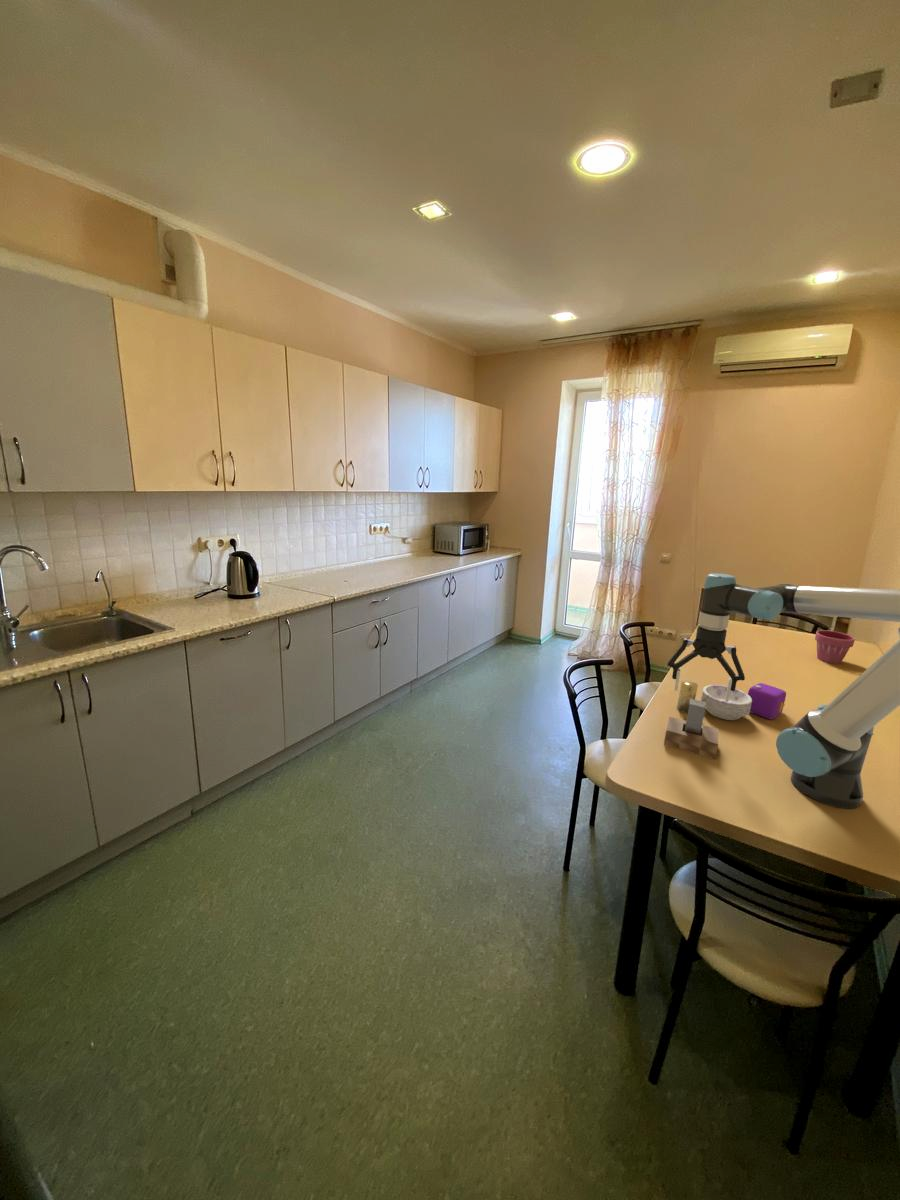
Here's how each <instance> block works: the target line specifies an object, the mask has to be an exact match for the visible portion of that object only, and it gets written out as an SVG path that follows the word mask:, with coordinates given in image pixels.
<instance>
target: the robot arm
mask: <svg viewBox="0 0 900 1200" xmlns="http://www.w3.org/2000/svg"><path fill="white" fill-rule="evenodd" d="M703 585H704V586H703V589H702V590H703V592H702V598H701V604H700V605H701V606H700V610H699V616H698V621H697V622H698V626H697V628H696V632H695V633H696V634H695V639H694V640H692V639H689V638H688V637H684V639H683V641H682V643H681V645H680V647H679V648H678V649H677V650H676V651H675V652H674V653H673V655H672V656H671V657H670V659H669V660H668V662H667V667H671V668H672V670H673V671H672V675H671V678H672V679H673V680H675V682H674V683H675V685H674V691H675V692H676V691H677V692H678V689H679V683H680V682H679V681H680V675H681V670H682V669H681V667H683V666H685V664H687V663H688V662H690V661H691V660H693V659H694V658H696V657H698V656H699V657H701V658H707V659H710V660H714V659H716V660H717V661H718V662H719V664H721V667H722V668H724V670H725V671H726V673H727V675H728V676H729V677H728V680H727V685H726V686H727V691H726V697H725V701H726V702H728V701H729V695H730V690H731V691H735V689H737V688H736V687H737V682H738V681H745V679H746V677H745V673H744V670H743V668H742V665H741V663H740V660H739V658H738V654H737V646H736V645H731V646H730V645H729V646H727V645H726V637H727V629H728V626H729V621H730V620H729V619H730V615H731V612H732V613H733V612H734V613H736V614H740V615H744V616H749V617H752V618H755V619H757V620H758V619H759V620H765V621H766V620H767V621H773V620H775V619H776V618H777V617H778V616H779V615H780V614H781V613H789V614H790V613H791V614H806V615H814V616H815V615H818V616H826V617H827V616H828V617H839V618H849V619H862V620H870V621H871V620H873V621H882V622H883V621H884V622H895V623H900V589H894V588H892V589H891V588H869V587H868V588H867V587H865V588H864V587H845V586H843V587H842V586H820V585H819V586H818V585H817V586H816V585H795V584H791V583H779V584H776V585H769V586H762V587H751V586H746V585H740V584H737V577H736V576H734V575H732V574H726V573H710V574H707V576H706V577H705V581H704V584H703ZM897 633H898V637H899V639H898V640H897V641H896V642H895V643H894V644H893V645H892V646H891V647H890V648H889V649H887V650H886V651H885V652H884V653H883V654H882V655H880V657H879V658H878V659H876V660H875V661H874V662H873V663H872V664H871V665H870V666H869V667H868V668H867V669H866V670H864V672H862V673H861V674H860V675H859V676H857V678H856V679H854V681H853V682H851V683H850V684H849V685H848V686H846V688H844V689H843V690H842V691H841V692H840V693H839V694H838V695H837V696H836V697H835V698H834V699H832V700H831V701H830V702H829V703H828V704H821V705H818V707H817V709H816V708H815V709H811V710H809V711H808V712H807V713H806V714H805V715H804V716H803V717H802V718H801V719H799V721H797V722H796V723H795V724H794V725H792V726H791V727H788V728H785V729H783V730H782V731H781V732H780V733H779V734H778V736H777V738H776V741H775V745H776V749H777V754H778V756H779V758H780V760H781V761H782V762H783V763H784V765H785V766H787V768H789V769H790V770H792V771H791V775H790V782H791V783H792V785H793V786H794V787H795V788H796V789H797V790H799V791H800V792H801V793H802V794H804V795H806V796H807V797H809V798H811V799H813V800H815V801H816V802H817V801H818V802H820V803H822V804H825V805H828V806H831V807H835V808H842V809H855V808H859V807H860V806H861V805H862V802H863V799H864V791H863V784H862V783H863V782H862V777H861V773H862V769H863V766H864V763H865V760H866V756H867V753H868V750H869V747H870V743H871V742H872V741H871V740H872V737H873V736H874V730H875V726H876V725H878V724H879V723H880V722H881V721H882V720H884V719H885V718H886V717H887V716H889V715H890V714H891V713H892V712H893V711H895V710H896V709H897V708H899V707H900V627H898V629H897ZM691 645H692V646H693V648H694V649H693V650H692V651H691V652H690V653H688V654H687V655H685V656H684V657H683V658H682V659H680V660H679V661H677V660H678V658H679V657H680V656H681V655H682V654H683V653H684V651H685V650H686V649H687V648H689V647H690V646H691ZM725 651H727V653H728V654H729V655H731V660H732V662H733V665H734V667H735V669H736V673H737V674H736V673H735V672H734V670H733V669H732V667H731V666H730V665H729V663H728V662H727V660H726V659H725V657H724V656H723V653H724V652H725ZM676 661H677V662H676ZM675 662H676V663H675Z"/></svg>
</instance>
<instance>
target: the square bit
mask: <svg viewBox="0 0 900 1200" xmlns="http://www.w3.org/2000/svg"><path fill="white" fill-rule="evenodd" d="M705 706H706V702H703V701H701V700H697V699H695V700H694V699H690V704H689V710H688V713H687V716H686V719H685V721H686V726H685V731H684V732H688V733H692V734H696V735H700V732H701V727H702V725H703V722H704V717H705V711H706V707H705Z"/></svg>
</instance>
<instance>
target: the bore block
mask: <svg viewBox="0 0 900 1200" xmlns="http://www.w3.org/2000/svg"><path fill="white" fill-rule="evenodd" d="M685 726H686V719H685V720H684V719H680V718H677V717H674V716H673V717H672V716H669V717H668V720H667V726H666V729H665V735H664V742H663V745H664V746H668V747H670V748H675V749H677V750H682V751H685V752H689V753H692V754H696V755H700V756H703V757H706V758H710V759H714V760H716V757H717V756H716V755H717V751H718V748H719V747H718V746H719V728H715V727H712V726H708V725H704V724H702V727H701V732H700V735H696V734H692V733H688V732H684V731H685Z"/></svg>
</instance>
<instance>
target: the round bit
mask: <svg viewBox="0 0 900 1200" xmlns="http://www.w3.org/2000/svg"><path fill="white" fill-rule="evenodd" d="M698 687H699V685H698V684H697V682H694V681H691V680H681V683H680V687H679V693H678V699H677V705H676V709H677V710H678V711H680V712H682V713H685V714H686V713H687V714H688V710H689V704H690V699H694V700H696V696H697V691H698Z"/></svg>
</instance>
